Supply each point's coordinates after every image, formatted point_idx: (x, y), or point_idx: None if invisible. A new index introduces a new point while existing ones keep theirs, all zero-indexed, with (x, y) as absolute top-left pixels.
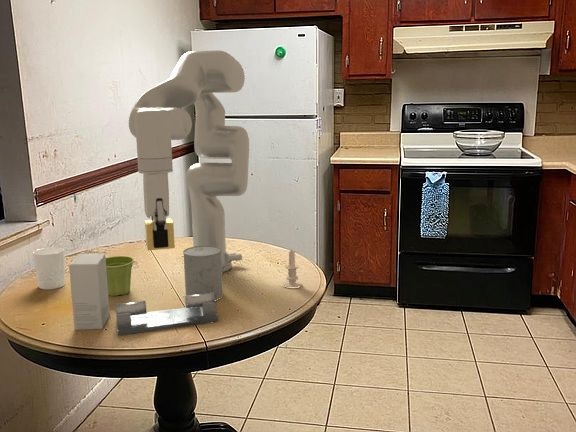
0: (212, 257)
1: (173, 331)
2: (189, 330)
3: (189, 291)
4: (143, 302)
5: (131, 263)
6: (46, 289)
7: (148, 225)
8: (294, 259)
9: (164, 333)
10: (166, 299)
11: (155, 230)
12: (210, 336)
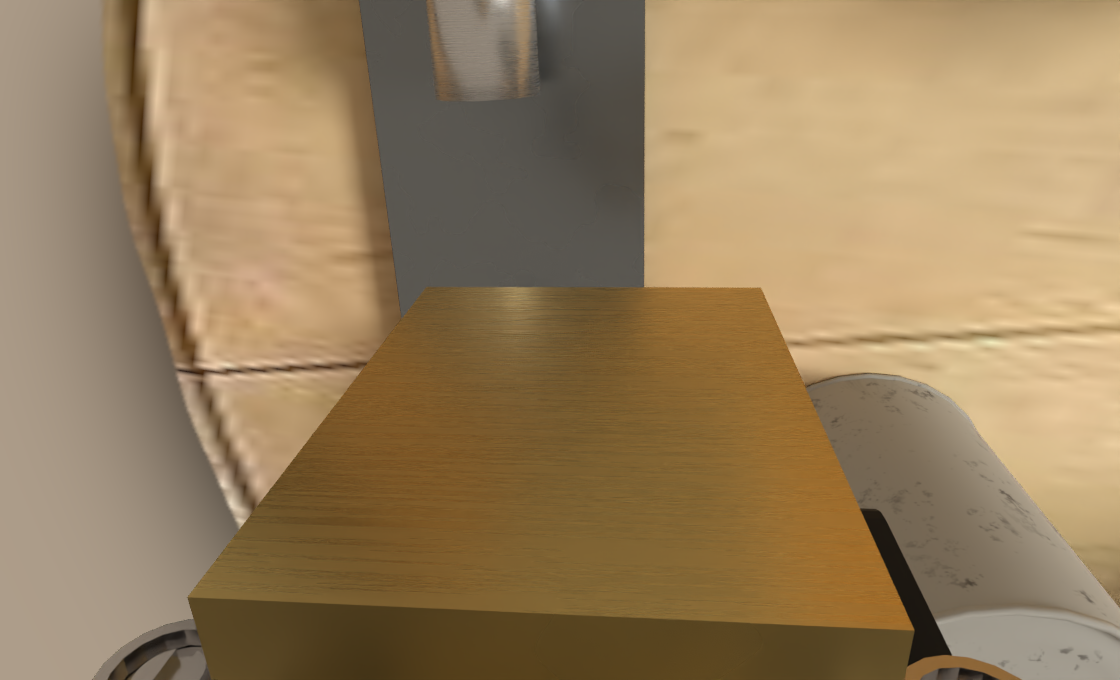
0: None
1: (353, 235)
2: (349, 320)
3: (822, 424)
4: (456, 83)
5: None
6: None
7: (220, 629)
8: None
9: (334, 182)
10: (926, 251)
11: (134, 659)
12: (255, 405)
